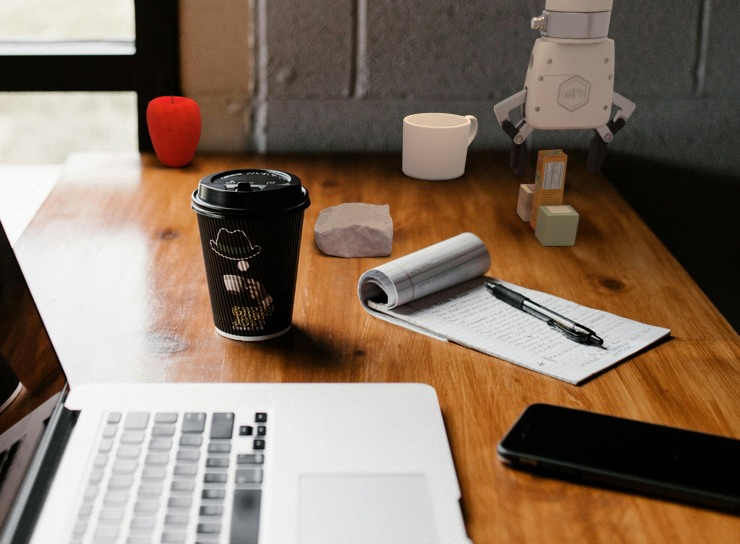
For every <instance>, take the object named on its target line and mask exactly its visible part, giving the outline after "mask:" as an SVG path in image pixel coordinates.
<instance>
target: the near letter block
mask: <svg viewBox="0 0 740 544" xmlns="http://www.w3.org/2000/svg"><path fill="white" fill-rule="evenodd" d="M579 219H580V214H579V213H578V212H577V211H576V210H575V209H574V207H572V205H570V204H569V205H566V204H562V205H556V206H539V210H538V217H537V223H536V230H535V231H534V237H535V238H536V239H537V241H538V242H539V243H540V244H541V245H542V247H573V246H575V244H576V236H577V231H578V226H579V225H578V224H579Z"/></svg>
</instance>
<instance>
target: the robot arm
mask: <svg viewBox="0 0 740 544" xmlns="http://www.w3.org/2000/svg"><path fill="white" fill-rule="evenodd" d="M613 3H614V0H545V6H544V9H543V10H542V13H541V15H538V16H533V17H532V18H531V22H530V29H531V30H537V31H539V32H540V35H541V38H540V37H539V38H536V39H535V42H534V45H533V48H532V51H531V54H530V58H529V61H528V66H527V71H526V73H525V74H526V75H525V79H524V85H523V89H522V90H520V91H518V92H517V93H514V94H512V95H511V96H509V97H507V98H505V99H503V100H501V101H499V102H498V103H496V104H495V105H494V106H493V111H494V114H495V116H496V119H497V121H498V125H499V127H500V128H501V129H502V130H503V132H505V134H506V135H508V137H509V139H511V147H510V156H509V167H510V168H511V169H512V172H513V173H514V174H515V175H516V176H517V177H523V176H524V175H525V170H526V161H527V153H528V144H527V143H526V139H528V137H529V136H530V135H531V134H532V133H533V132H534V130H541V131H542V130H543V131H550V130H551V131H552V130H553V131H555V130H556V131H557V130H589V129H591V130H592V131H593V133H594V136H592V137H591V139H590V142H589V148H588V154H587V160H586V161H587V162H586V169H587V170H588V171H589V172H591V173H592V174H593V175H600V173H601V168H602V167H603V166H604V165H605V162H606V156H607V150H608V144H609V143H610V142H611V141H612V140H613V137H614V136H615V135H616V134H618V133H619V132H620V131H621V130H622V129H623V128H624V127H625V126H626V122H627V120H629V118H630V117H631V116H632V114H633V113H634V111H635V109H636V107H637V104H636V103H635V102H633V101H631V100H630V99H628V98H626V97H625V96H622V95H621V94H620V93H618V92H616V91H614V83H615V61H616V57H615V56H616V54H615V49H616V48H615V39H612V38H608V35H609V28H610V22H611V16H612V10H613ZM612 104H613V105H614V106H617V108H618V110H617V112H616V114H615V116H613V117H612V118H611V119H610V117H611V111H612V106H613V105H612ZM518 107H520V118H521V119H520V121H519V122H518V123H517V124H516V125H515V124H513V123H512V121H511V119H510V116H509V114H510V112H511V111H512V110H514V109H516V108H518Z"/></svg>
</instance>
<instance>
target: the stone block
mask: <svg viewBox="0 0 740 544" xmlns="http://www.w3.org/2000/svg"><path fill="white" fill-rule="evenodd" d="M313 234H314V239H315V242H316V245H317V248H318V249H319V250H320V251H321V252H322V253H324V254H325V255H329V256H335V257H342V258H346V259H347V258H348V259H349V258H350V259H351V258H363V257H364V258H365V257H370V258H371V257H389V256H390V255H391V254H392V251H393V241H394V240H393V239H394V222H393V218H392V216H391V214H390V205H389V204H388V203H387V204H386V203H385V204H374V203H373V204H372V203H364V202H344V203H341V204H338V205H336V206H335V205H333V206H332V205H331V206H329V207H325V208H324V209H322V210H320V211H319V213H318V216H317V218H316V220H315V224H314V228H313Z"/></svg>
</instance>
